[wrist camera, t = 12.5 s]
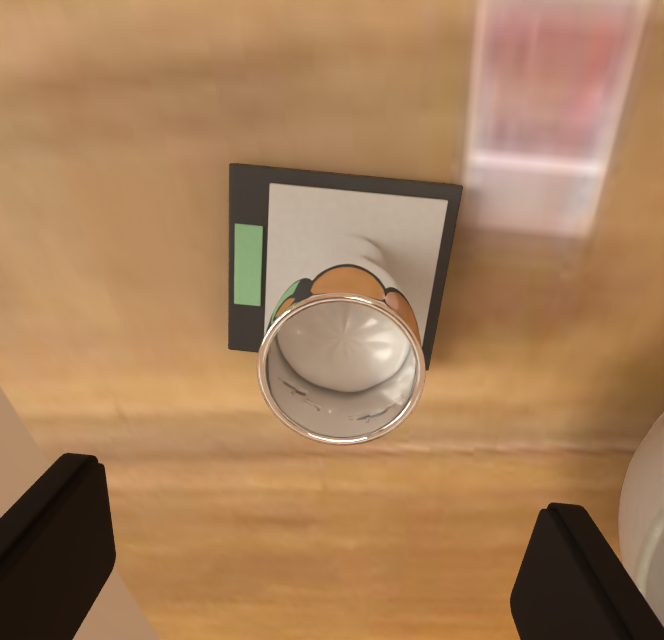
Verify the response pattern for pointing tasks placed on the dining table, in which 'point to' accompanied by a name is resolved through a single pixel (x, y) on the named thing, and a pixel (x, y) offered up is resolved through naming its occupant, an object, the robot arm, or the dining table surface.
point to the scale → (328, 223)
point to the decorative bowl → (645, 518)
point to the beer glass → (342, 348)
